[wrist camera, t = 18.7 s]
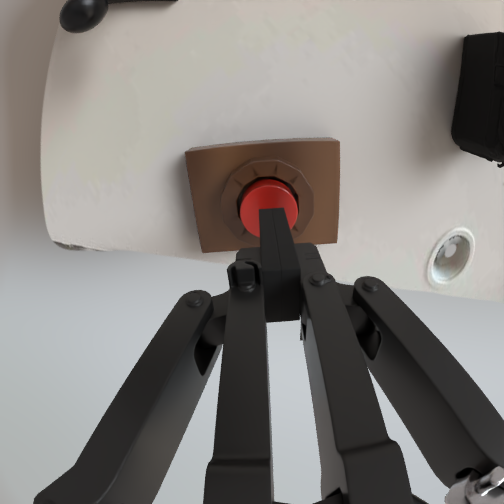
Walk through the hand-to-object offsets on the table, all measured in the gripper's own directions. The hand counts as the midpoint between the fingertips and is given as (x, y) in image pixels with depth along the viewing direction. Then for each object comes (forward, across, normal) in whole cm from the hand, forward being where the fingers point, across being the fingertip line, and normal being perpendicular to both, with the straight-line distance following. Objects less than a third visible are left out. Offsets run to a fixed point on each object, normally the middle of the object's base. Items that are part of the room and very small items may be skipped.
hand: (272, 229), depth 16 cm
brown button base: (+8, 0, 0) cm, 8 cm away
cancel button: (+4, 0, 0) cm, 4 cm away
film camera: (+8, +25, +11) cm, 28 cm away
